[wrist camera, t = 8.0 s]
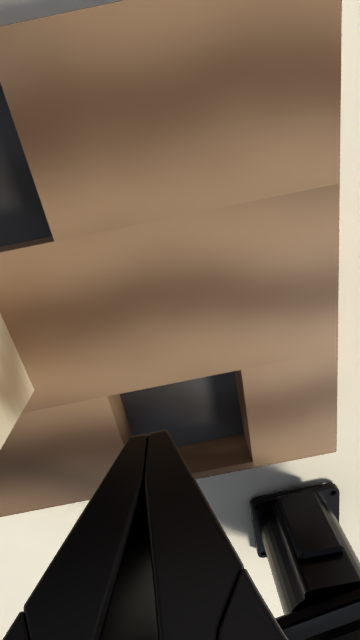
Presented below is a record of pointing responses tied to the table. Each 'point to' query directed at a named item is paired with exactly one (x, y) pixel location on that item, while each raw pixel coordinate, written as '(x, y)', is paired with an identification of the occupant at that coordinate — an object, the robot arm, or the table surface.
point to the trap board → (169, 236)
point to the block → (11, 384)
